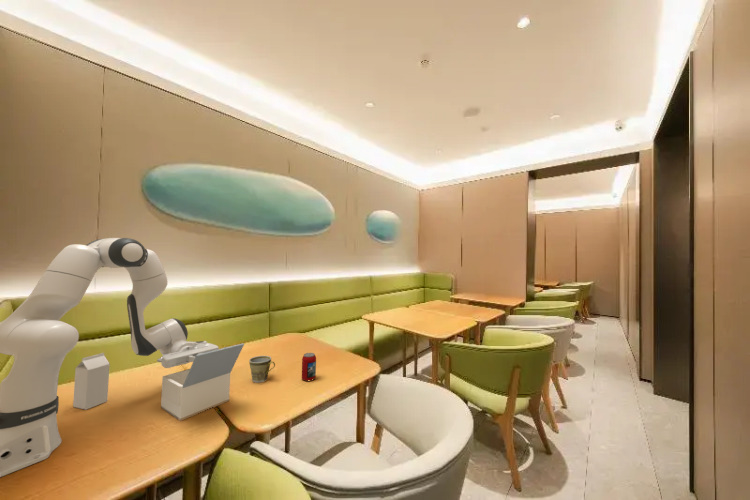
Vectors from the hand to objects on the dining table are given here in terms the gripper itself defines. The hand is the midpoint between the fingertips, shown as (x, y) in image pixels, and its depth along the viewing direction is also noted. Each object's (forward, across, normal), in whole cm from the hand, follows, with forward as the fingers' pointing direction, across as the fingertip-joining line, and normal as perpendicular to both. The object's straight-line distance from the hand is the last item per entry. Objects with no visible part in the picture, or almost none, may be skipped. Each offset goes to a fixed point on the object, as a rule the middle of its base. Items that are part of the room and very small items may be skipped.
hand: (200, 359), depth 113 cm
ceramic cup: (-1, +29, +18) cm, 35 cm away
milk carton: (-35, -24, +18) cm, 46 cm away
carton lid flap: (+10, 0, 0) cm, 10 cm away
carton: (-2, 0, +18) cm, 18 cm away
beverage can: (+16, +43, +18) cm, 50 cm away
